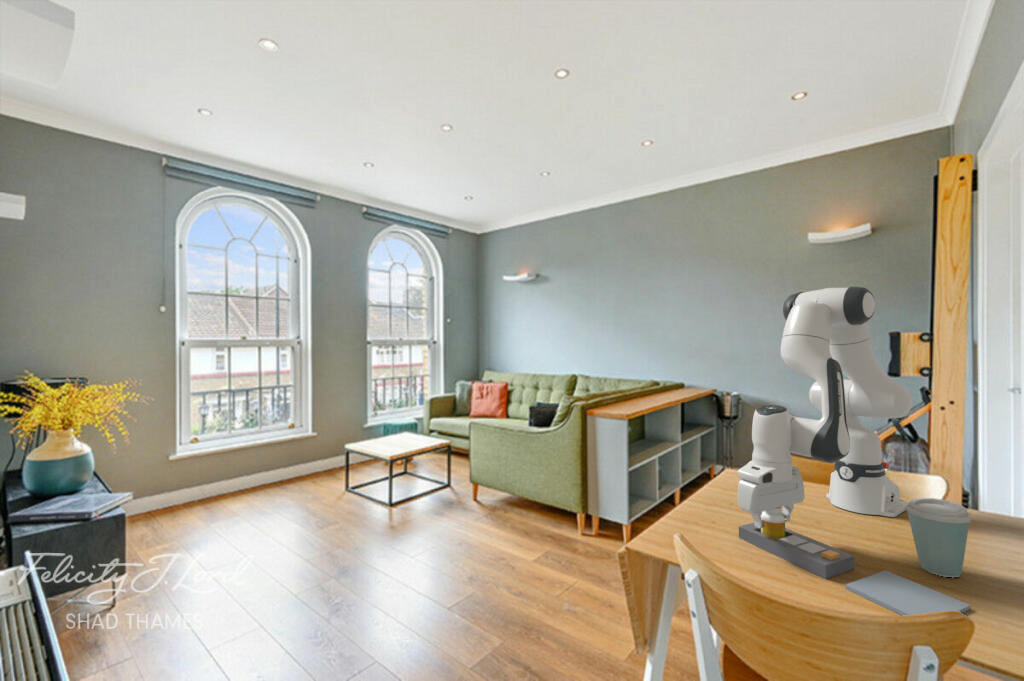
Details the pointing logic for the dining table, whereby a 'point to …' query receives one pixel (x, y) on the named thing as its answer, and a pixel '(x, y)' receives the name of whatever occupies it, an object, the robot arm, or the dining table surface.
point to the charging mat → (904, 595)
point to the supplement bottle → (773, 523)
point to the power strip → (801, 551)
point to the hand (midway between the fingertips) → (772, 523)
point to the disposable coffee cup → (939, 534)
